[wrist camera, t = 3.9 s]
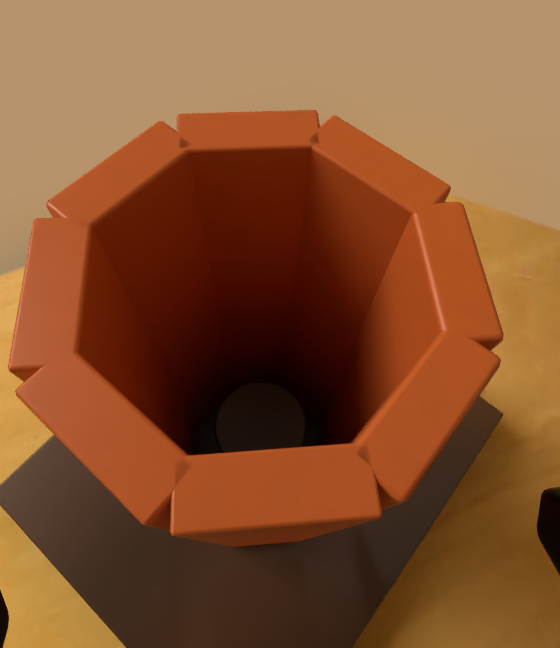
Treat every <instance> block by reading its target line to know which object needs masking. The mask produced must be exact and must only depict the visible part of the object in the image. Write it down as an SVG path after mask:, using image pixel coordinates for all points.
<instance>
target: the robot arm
mask: <svg viewBox="0 0 560 648" xmlns="http://www.w3.org/2000/svg"><path fill="white" fill-rule="evenodd" d="M537 532H538V536H539V539H540V541H541V543H542V545H543V547H544V549H545V550H546V552H547V554H548V556H549V557H550V559H551V561H552V563H553V564H554V566H555V568H556V570H557V571H558V573H559V575H560V487H555V488H549V489H546V490H544V491H543V493H542V495H541V500H540V507H539V514H538V521H537ZM8 622H9V615H8V610H7V607H6V604H5V601H4V599H3V596H2V593H1V591H0V648H3V644H4V641H5V637H6V633H7V629H8Z"/></svg>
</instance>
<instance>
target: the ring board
mask: <svg viewBox="0 0 560 648" xmlns="http://www.w3.org/2000/svg"><path fill="white" fill-rule="evenodd" d="M502 416H503V413H501V412H500V411H499V410H497V409H496V408H495V407H493V406H492V405H490V404H489V403H488V402H486V401H485V400H484V399H482V398H481V397H480V396H479V397H478V399H477V400H476V401H475V403H474V404H473V406H472V407H471V409H470V410H469V412H468V413H467V415H466V416H465V417H464V419H463V420H462V422H461V423H460V425H459V426H458V428H457V429H456V431H455V432H454V433H453V435H452V436H451V438H450V439H449V441H448V442H447V444H446V445H445V447H444V448H443V450H442V451H441V452H440V454H439V455H438V457H437V458H436V460H435V461H434V463H433V464H432V466H431V467H430V468H429V470H428V471H427V473H426V474H425V476H424V477H423V479H422V480H421V482H420V483H419V484H418V486H417V487H416V489H415V490H414V492H413V493H412V495H411V496H410V498H409V499H408V500H407V501H405V502H403V503H401V504H398V505H396V506H393V507H390V508H387V509H384V510H382V517H381V518H379V519H377V520H374V521H370V522H366V523H363V524H359V525H356V526H352V527H348V528H345V529H341V530H338V531H334V532H331V533H327V534H323V535H320V536H316V537H313V538H309V539H305V540H302V541H298V542H287V543H275V544H264V545H253V546H242V547H231V546H225V545H220V544H214V543H208V542H202V541H197V540H191V539H185V538H179V537H175V536H172V535H171V532H170V531H167V530H163V529H158V528H154V527H150V526H146V525H143V524H141V523H140V522H139V521H138V520H137V519H136V518H135V517H134V516H133V514H132V513H131V512H130V511H129V510H128V509H127V508H126V507H125V506H124V505H123V504H122V503H121V502H120V501H119V500H118V499H117V498H116V497H115V496H114V495H113V494H112V493H111V492H110V491H109V490H108V489H107V488H106V487H105V486H104V485H103V484H102V483H101V482H100V481H99V480H98V479H97V478H96V477H95V476H94V475H93V474H92V473H91V472H90V471H89V470H88V469H87V467H86V466H85V465H84V464H83V463H82V462H81V461H80V460H79V459H78V458H77V457H76V456H75V455H74V454H73V453H72V452H71V451H70V450H69V449H68V448H67V447H66V446H65V445H64V444H63V443H62V442H61V441H60V440H59V439H58V438H57V437H56V436H55V435H53V436H52V437H51V438H50V439H49V440H48V441H46V442H45V443H44V444H43V445H42V446H41V447H40V448H39V449H38V450H37V451H36V452H35V453H34V454H33V455H31V456H30V457H29V458H28V459H27V460H26V461H25V462H24V463H23V464H22V465H21V466H20V467H19V468H18V469H16V470H15V471H14V472H13V473H12V474H11V475H10V476H9V477H8V478H7V479H6V480H5V481H4V482H3V483H1V484H0V505H1V506H2V508H3V509H4V510H5V511H6V512H7V513H8V514H9V516H10V517H11V518H12V519H13V520H14V521H15V522H16V523H17V525H18V526H19V527H20V528H21V529H22V530H23V531H24V533H25V534H26V535H27V536H28V537H29V538H30V539H31V540H32V542H33V543H34V544H35V545H36V546H37V547H38V548H39V549H40V551H41V552H42V553H43V554H44V555H45V556H46V557H47V559H48V560H49V561H50V562H51V563H52V564H53V565H54V566H55V568H56V569H57V570H58V571H59V572H60V573H61V574H62V576H63V577H64V578H65V579H66V580H67V581H68V582H69V583H70V585H71V586H72V587H73V588H74V589H75V590H76V591H77V593H78V594H79V595H80V596H81V597H82V598H83V599H84V600H85V602H86V603H87V604H88V605H89V606H90V607H91V608H92V609H93V611H94V612H95V613H96V614H97V615H98V616H99V617H100V619H101V620H102V621H103V622H104V623H105V624H106V625H107V626H108V628H109V629H110V630H111V631H112V632H113V633H114V634H115V636H116V637H117V638H118V639H119V640H120V641H121V642H122V643H123V645H124V646H125V647H126V648H352V647H353V646H354V644H355V643H356V641H357V640H358V638H359V637H360V635H361V633H362V632H363V630H364V629H365V627H366V626H367V624H368V623H369V621H370V620H371V618H372V617H373V615H374V613H375V612H376V610H377V609H378V607H379V606H380V604H381V603H382V601H383V600H384V598H385V597H386V595H387V593H388V592H389V590H390V589H391V587H392V586H393V584H394V583H395V581H396V580H397V578H398V577H399V575H400V573H401V572H402V570H403V569H404V567H405V566H406V564H407V563H408V561H409V560H410V558H411V557H412V555H413V553H414V552H415V550H416V549H417V547H418V546H419V544H420V543H421V541H422V540H423V538H424V537H425V535H426V533H427V532H428V530H429V529H430V527H431V526H432V524H433V523H434V521H435V520H436V518H437V516H438V515H439V513H440V512H441V510H442V509H443V507H444V506H445V504H446V503H447V501H448V500H449V498H450V496H451V495H452V493H453V492H454V490H455V489H456V487H457V486H458V484H459V483H460V481H461V480H462V478H463V476H464V475H465V473H466V472H467V470H468V469H469V467H470V466H471V464H472V463H473V461H474V460H475V458H476V456H477V455H478V453H479V452H480V450H481V449H482V447H483V446H484V444H485V443H486V441H487V440H488V438H489V436H490V435H491V433H492V432H493V430H494V429H495V427H496V426H497V424H498V423H499V421H500V420H501V418H502ZM321 445H322V439H321V430H320V422H319V421H318V420H317V419H316V418H314V417H313V416H312V415H311V414H310V413H308V412H307V411H306V410H305V409H304V408H302V406H301V404H300V402H299V401H298V399H297V398H296V397H295V396H294V395H293V394H292V393H291V392H290V391H289V390H287V389H286V388H284V387H282V386H280V385H278V384H275V383H271V382H265V381H257V382H251V383H247V384H244V385H242V386H240V387H238V388H236V389H235V390H233V391H232V392H231V393H230V394H228V395H227V396H226V398H225V399H224V400H223V402H222V403H221V405H220V407H219V408H218V410H217V411H216V412H215V413H214V414H213V415H212V416H211V417H210V418H209V419H208V420H207V421H206V422H205V423H204V424H203V426H202V427H201V428H200V429H199V430H198V455H202V454H215V453H228V452H241V451H255V450H268V449H281V448H294V447H308V446H321Z"/></svg>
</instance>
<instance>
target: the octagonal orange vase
mask: <svg viewBox="0 0 560 648" xmlns="http://www.w3.org/2000/svg"><path fill="white" fill-rule="evenodd" d="M450 189H451V187H450V186H449V185H448V184H446V183H445V182H443V181H442V180H440V179H438V178H437V177H435V176H433V175H432V174H430V173H429V172H427V171H425V170H424V169H422V168H420V167H419V166H417V165H415V164H414V163H412V162H411V161H409V160H407V159H406V158H404V157H402V156H401V155H399V154H398V153H396V152H394V151H393V150H391V149H389V148H388V147H386V146H384V145H383V144H381V143H380V142H378V141H376V140H375V139H373V138H371V137H370V136H368V135H366V134H365V133H363V132H362V131H360V130H358V129H357V128H355V127H353V126H352V125H350V124H348V123H347V122H345V121H344V120H342V119H340V118H339V117H337V116H332V117H331V118H329V119H328V120H327V121H326V122H325V123H324V124H322V125H321V126H320V125H319V118H318V113H317V111H315V110H298V111H263V112H228V113H197V114H196V113H195V114H194V113H192V114H179V115H178V116H177V131H176V130H174V129H173V128H171V127H170V126H168V125H167V124H165V123H164V122H162V121H159V122H157V123H155V124H154V125H153V126H151V127H150V128H149V129H147V130H146V131H144V132H143V133H141V134H140V135H139V136H137V137H136V138H135V139H133V140H132V141H131V142H129V143H128V144H126V145H125V146H123V147H122V148H121V149H119V150H118V151H117V152H115V153H114V154H112V155H111V156H110V157H108V158H107V159H105V160H104V161H103V162H101V163H100V164H98V165H97V166H96V167H94V168H93V169H92V170H90V171H89V172H87V173H86V174H84V175H83V176H82V177H80V178H79V179H78V180H76V181H75V182H73V183H72V184H71V185H69V186H68V187H67V188H65V189H64V190H62V191H61V192H60V193H58V194H57V195H55V196H54V197H53V198H51V199H50V200H48V202H47V203H46V205H47V208H48V210H49V212H50V213H51V215H52V216H53V218H40V219H39V218H38V219H35V220H34V221H33V226H32V232H31V237H30V243H29V249H28V255H27V261H26V266H25V272H24V278H23V283H22V289H21V295H20V301H19V307H18V312H17V318H16V324H15V330H14V335H13V341H12V347H11V353H10V359H9V364H8V368H9V371H10V372H11V373H13V374H14V375H15V376H17V377H18V378H20V379H21V380H22V381H24V383H22V384H21V385H20V386H19V387H18V388H17V389H16V391H15V392H16V396H17V397H18V398H19V399H20V400H21V401H22V402H23V403H24V404H25V405H26V406H27V407H28V408H29V409H30V410H31V411H32V412H33V413H34V414H35V415H36V416H37V417H38V418H39V419H40V420H41V421H42V423H43V424H44V425H45V426H46V427H47V428H48V429H49V430H50V431H51V432H52V433H53V434H54V435H55V436H56V437H57V438H58V439H59V440H60V441H61V442H62V443H63V444H64V445H65V446H66V447H67V448H68V449H69V450H70V451H71V452H72V453H73V454H74V455H75V456H76V457H77V458H78V459H79V460H80V461H81V462H82V463H83V464H84V465H85V466H86V467H87V469H88V470H89V471H90V472H91V473H92V474H93V475H94V476H95V477H96V478H97V479H98V480H99V481H100V482H101V483H102V484H103V485H104V486H105V487H106V488H107V489H108V490H109V491H110V492H111V493H112V494H113V495H114V496H115V497H116V498H117V499H118V500H119V501H120V502H121V503H122V504H123V505H124V506H125V507H126V508H127V509H128V510H129V511H130V512H131V513H132V514H133V516H134V517H135V518H136V519H137V520H138V521H139V522H140V523H141V524H143V525H146V526H150V527H154V528H158V529H163V530H167V531H170V532H171V535H172V536H175V537H179V538H185V539H191V540H197V541H202V542H208V543H214V544H220V545H225V546H231V547H242V546H253V545H264V544H275V543H287V542H298V541H302V540H305V539H309V538H313V537H316V536H320V535H323V534H327V533H331V532H334V531H338V530H341V529H345V528H348V527H352V526H356V525H359V524H363V523H366V522H370V521H374V520H377V519H379V518H381V517H382V510H384V509H387V508H390V507H393V506H396V505H398V504H401V503H403V502H405V501H407V500H408V499H409V498H410V496H411V495H412V493H413V492H414V490H415V489H416V487H417V486H418V484H419V483H420V482H421V480H422V479H423V477H424V476H425V474H426V473H427V471H428V470H429V468H430V467H431V466H432V464H433V463H434V461H435V460H436V458H437V457H438V455H439V454H440V452H441V451H442V450H443V448H444V447H445V445H446V444H447V442H448V441H449V439H450V438H451V436H452V435H453V433H454V432H455V431H456V429H457V428H458V426H459V425H460V423H461V422H462V420H463V419H464V417H465V416H466V415H467V413H468V412H469V410H470V409H471V407H472V406H473V404H474V403H475V401H476V400H477V399H478V397H479V396H480V394H481V393H482V391H483V390H484V388H485V387H486V385H487V384H488V382H489V381H490V380H491V378H492V377H493V375H494V374H495V372H496V371H497V369H498V368H499V366H500V361H501V360H500V358H499V357H498V356H497V355H495V354H494V353H493V352H491V350H492V349H493V348H495V347H496V346H497V345H498V344H499V343H500V342H501V341H502V340H503V331H502V328H501V324H500V321H499V318H498V315H497V312H496V308H495V305H494V302H493V299H492V295H491V292H490V289H489V286H488V282H487V279H486V276H485V273H484V269H483V266H482V263H481V260H480V257H479V253H478V250H477V247H476V244H475V240H474V237H473V234H472V231H471V227H470V224H469V221H468V218H467V214H466V211H465V208H464V205H463V204H462V203H460V202H445V200H446V198H447V196H448V194H449V192H450ZM257 381H265V382H271V383H275V384H278V385H280V386H282V387H284V388H286V389H287V390H289V391H290V392H291V393H292V394H293V395H294V396H295V397H296V398H297V399H298V401H299V402H300V404H301V406H302V408H304V409H305V410H306V411H307V412H308V413H310V414H311V415H312V416H313V417H314V418H316V419H317V420H318V421H319V422H320V430H321V439H322V445H321V446H308V447H294V448H281V449H268V450H255V451H241V452H228V453H215V454H202V455H198V430H199V429H200V428H201V427H202V426H203V424H204V423H205V422H206V421H207V420H208V419H209V418H210V417H211V416H212V415H213V414H214V413H215V412H216V411H217V410H218V408H219V407H220V405H221V403H222V402H223V400H224V399H225V398H226V396H227V395H228V394H230V393H231V392H232V391H233V390H235V389H236V388H238V387H240V386H242V385H244V384H247V383H251V382H257Z"/></svg>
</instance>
